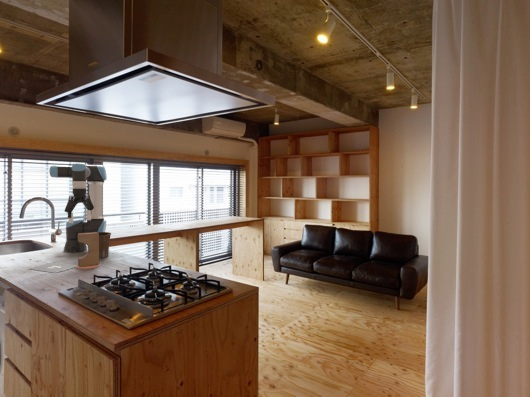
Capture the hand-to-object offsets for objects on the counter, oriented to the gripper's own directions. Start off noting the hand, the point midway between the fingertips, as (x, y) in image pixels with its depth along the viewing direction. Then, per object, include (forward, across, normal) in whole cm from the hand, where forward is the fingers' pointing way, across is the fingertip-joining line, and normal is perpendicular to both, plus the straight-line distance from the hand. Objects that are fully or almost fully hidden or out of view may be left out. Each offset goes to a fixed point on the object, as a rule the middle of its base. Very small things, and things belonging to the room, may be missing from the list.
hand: (80, 221), depth 207 cm
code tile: (+27, +12, -8) cm, 31 cm away
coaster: (+27, +2, +8) cm, 28 cm away
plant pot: (+28, -19, -4) cm, 34 cm away
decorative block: (+27, +2, +8) cm, 28 cm away
